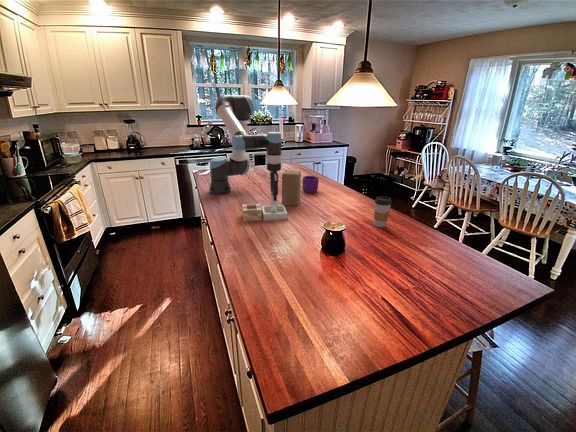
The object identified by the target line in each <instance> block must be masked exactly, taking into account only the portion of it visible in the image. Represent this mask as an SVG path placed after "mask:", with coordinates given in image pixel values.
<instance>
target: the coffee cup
mask: <svg viewBox="0 0 576 432" xmlns="http://www.w3.org/2000/svg"><path fill="white" fill-rule="evenodd" d="M391 205H392V198H391V197H389V196H383V195H382V196H376V198H375V201H374V212H373V225H374V226H375V227H377V228H385V227H386V226H387V222H388V219H389V215H390V210H391Z"/></svg>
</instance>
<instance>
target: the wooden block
mask: <svg viewBox="0 0 576 432" xmlns="http://www.w3.org/2000/svg"><path fill="white" fill-rule="evenodd" d="M301 174H302V171H301V170H290V169H289V170H287V169H286V170H284V171H283V172H282V174H281V205H284V206H293V207H294V206H295V207H298V205H299V203H300V201H301V184H302V183H301V182H302V181H301V180H302V179H301V178H302V177H301V176H302V175H301Z"/></svg>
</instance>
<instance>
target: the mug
mask: <svg viewBox="0 0 576 432" xmlns="http://www.w3.org/2000/svg"><path fill="white" fill-rule="evenodd" d="M302 190H303V192H304V193H307V194H313V193H316V192H317V191H318V190H319V177H318V176H314V175H305V176H303V177H302Z"/></svg>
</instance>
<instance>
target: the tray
mask: <svg viewBox="0 0 576 432" xmlns="http://www.w3.org/2000/svg"><path fill="white" fill-rule="evenodd" d="M261 210H262V220H263V222H269V221H270V222H273V221H275V222H276V221H287V220H288V211H287V209H286V206H285V205H282V204H277V213H271V204H270V205H261Z"/></svg>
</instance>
